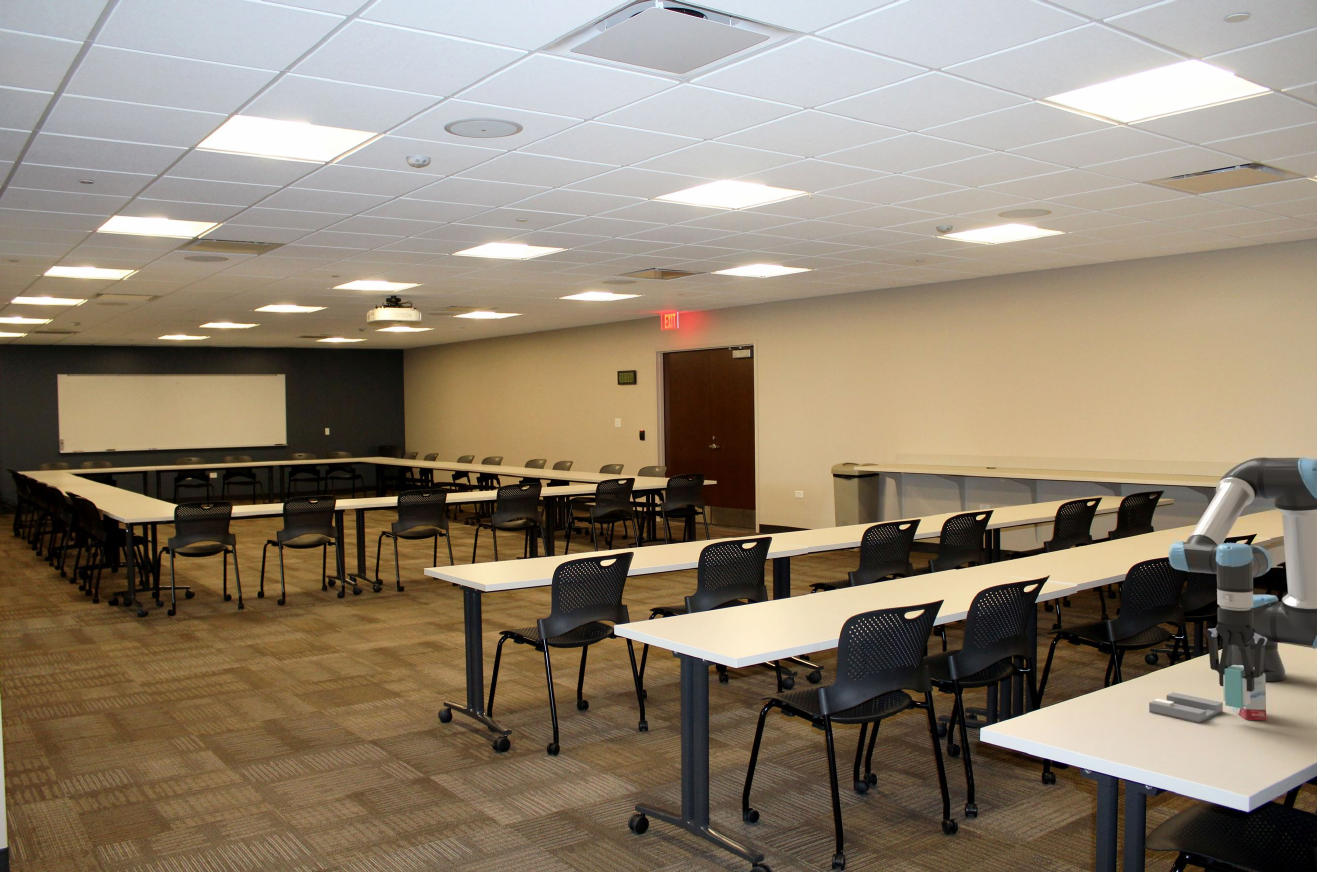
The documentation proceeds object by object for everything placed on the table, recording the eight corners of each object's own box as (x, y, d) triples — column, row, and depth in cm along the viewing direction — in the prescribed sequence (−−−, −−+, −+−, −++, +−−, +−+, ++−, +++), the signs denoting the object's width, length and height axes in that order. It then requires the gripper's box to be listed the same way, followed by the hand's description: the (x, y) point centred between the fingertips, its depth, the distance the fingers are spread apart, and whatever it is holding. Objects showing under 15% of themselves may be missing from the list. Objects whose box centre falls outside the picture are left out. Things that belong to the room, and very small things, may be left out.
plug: (1232, 701, 230) (1231, 665, 230) (1248, 704, 228) (1247, 668, 227) (1225, 705, 228) (1224, 668, 227) (1241, 708, 225) (1240, 671, 225)
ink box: (1267, 721, 229) (1266, 673, 229) (1245, 720, 230) (1245, 672, 230) (1252, 710, 238) (1251, 664, 238) (1231, 709, 239) (1230, 664, 239)
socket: (1173, 701, 246) (1173, 689, 246) (1222, 711, 237) (1222, 699, 237) (1149, 711, 238) (1149, 699, 238) (1199, 723, 228) (1199, 710, 228)
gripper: (1192, 604, 231) (1194, 697, 232) (1267, 614, 218) (1269, 713, 219) (1205, 600, 236) (1206, 691, 236) (1279, 609, 223) (1281, 706, 223)
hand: (1236, 701), depth 228 cm, fingers closed on plug, 3 cm apart
